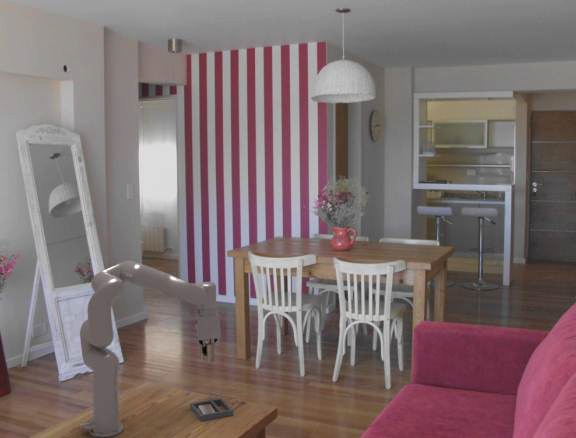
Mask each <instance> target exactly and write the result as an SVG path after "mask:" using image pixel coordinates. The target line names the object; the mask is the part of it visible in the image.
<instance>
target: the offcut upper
mask: <svg viewBox="0 0 576 438" xmlns="http://www.w3.org/2000/svg"><path fill="white" fill-rule="evenodd" d="M198 410H199V411H200V413H201V414H202V415H203V414H209V413H214V412H215V411H214V409H213V408H212V406H211V405H210V404H207V405H200V406H198Z"/></svg>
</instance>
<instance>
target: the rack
mask: <svg viewBox="0 0 576 438" xmlns="http://www.w3.org/2000/svg"><path fill="white" fill-rule="evenodd" d="M207 404H210V405H211V406H212V408H213V409H214V411H215V412H214V413H209V414H203V415H202V414H201V413H200V412H199V410H198V406H200V405H207ZM189 405H190V406H189V410H190V411H191V412H192V413H193V415H194V416H195V417H196V418H197V419H198V421H199V422H200V423H201V422H205V421H212V420H217V419H223V418H227V417H233V416H234V409H233V408H232V407H231V406H230V405H229V404H228V403H227V402H226V401H225V400H224V399H223V398H222V397H219V398H215V399H209V400H204V401H203V400H202V401H197V402H191V403H189ZM219 406H221V407H222V408H223V409H224V410H221V408H220V407H219Z"/></svg>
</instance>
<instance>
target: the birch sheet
mask: <svg viewBox="0 0 576 438" xmlns="http://www.w3.org/2000/svg"><path fill="white" fill-rule="evenodd" d="M206 347H207V356H205V355H204V354H203V353H202V345H201V344H200V343H199V348H200V359H203V360H204V361H206V362H208V363H214V362H215V358H214V356H215V355H214V345H212V344H210V342H208V341H206Z"/></svg>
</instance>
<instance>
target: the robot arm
mask: <svg viewBox="0 0 576 438" xmlns="http://www.w3.org/2000/svg"><path fill="white" fill-rule="evenodd" d="M91 279H92V280H91V285H90V286H91V288H92V290H93V291H94V293H93V294H92V296H91V297H90V298H89V301H88V304H87V319H86V320H84V321H83V323H82V324H81V327H80V330H79V337H80V346H81V347H80V349H81V355H82V360H83V363H84V365H85V366H86V367H87V368H89V369H90V370H91V371H93V377H92V382H91V393H92V397H91V398H92V418H91V420H90V421H89V422H84V423H80V424H79V425H80V429H81V430H82V429H84V431H88V432H89V435H91V436H92V437H96V438H108V437H113V436H117V435H119V434H121V432H123V431H124V424H123V423H122V422H120V409H119V407H120V404H119V373H120V360H119V357H118V355H117V354H116V353H115V352H114V351H112V350H110V349H109V348H107V347H109V346H110V345H111V344H112V343H113V342H114V328H113V326H114V325H113V319H112V307H113V304H114V303H115V301H116V300H117V299H118V298H119V297H120V296H121V294H122V293H123V291H124V284H126V283H129V284H132V285H133V286H134V285H135V286H137V287H138V288H139V287H140V288H142V289H144V290H145V289H146V290H149V291H151V292H154V293H156V294H159V295H163V296H166V297H171V298H174V299H177V300H180V301H183V302H186V303H189V304H192V305H194V306H197V309H195V310H194V313H195V314H197V315H196V318H195V326H194V327H195V328H194V337H193V342H195V343H197V344H199V345H200V344H201V345H202V353H203V354H204V355H205V356H207V347H206V342H207V341H208V340H209V343H210V344H212V345H213V346H215V344H216V343H217V341H219V340H221V339H222V336H221V334H222V331H221V321H220V316H219V315H220V314H218V313H217V284H216V283H215V282H213V281H203V282H200V283H199V282H198V283H193V282H191V283H190V282H188V281H185V280H183V279H180V278H178V277H176V276H174V275H172V274H170V273H167V272H164V271H162V270H159V269H157V268H154V267H151V266H148V265H146V264H144V263H143V264H142V263H140V262H136V261H135V260H125V261H122V262H119V263H117V264H115V265H113V266H110V267H108V268H106V269H104V270H101V271H99V272H97V273H96V274H95V275H94V276H93V277H92V278H91Z"/></svg>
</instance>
